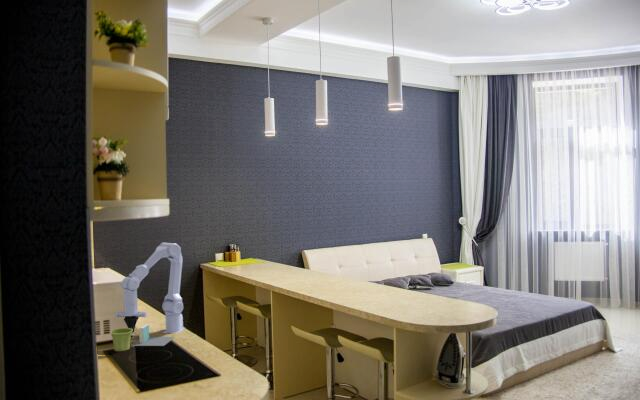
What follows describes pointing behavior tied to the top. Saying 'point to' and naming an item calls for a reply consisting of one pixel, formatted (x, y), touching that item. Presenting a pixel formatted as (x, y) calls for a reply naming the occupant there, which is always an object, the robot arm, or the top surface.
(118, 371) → the top surface
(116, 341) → the plant pot
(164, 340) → the mat
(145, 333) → the tile
